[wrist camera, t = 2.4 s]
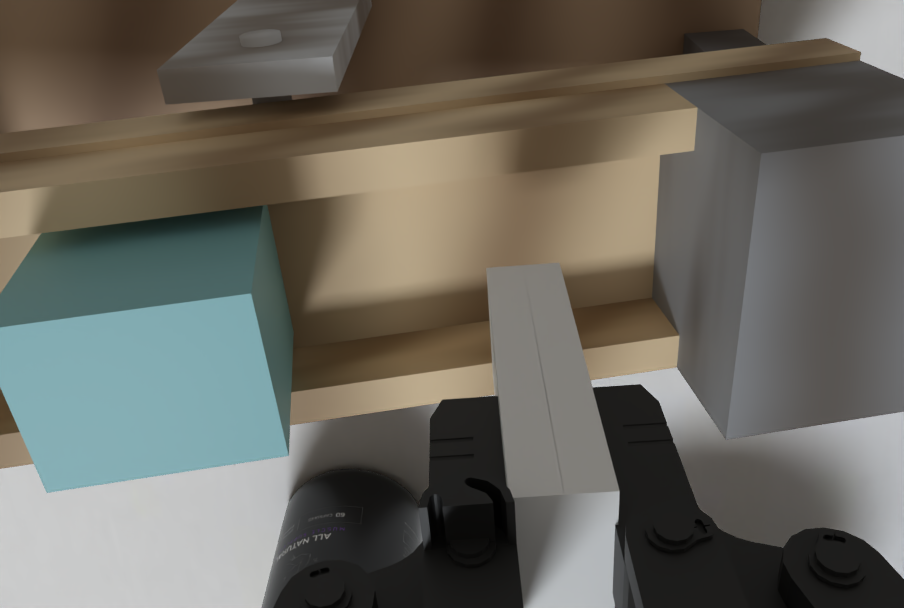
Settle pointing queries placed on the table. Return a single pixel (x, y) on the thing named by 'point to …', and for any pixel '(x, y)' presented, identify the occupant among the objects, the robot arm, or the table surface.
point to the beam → (542, 224)
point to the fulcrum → (317, 48)
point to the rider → (149, 348)
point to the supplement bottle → (344, 526)
